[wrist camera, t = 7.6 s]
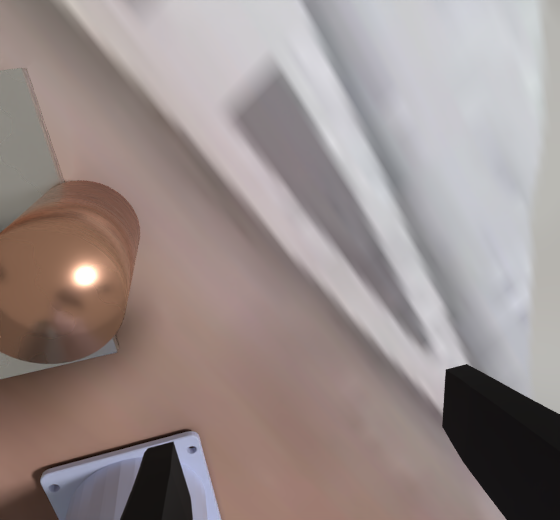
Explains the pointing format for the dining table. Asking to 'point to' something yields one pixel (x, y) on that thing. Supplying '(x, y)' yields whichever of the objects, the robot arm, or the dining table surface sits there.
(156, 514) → the robot arm
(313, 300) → the dining table surface
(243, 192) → the dining table surface
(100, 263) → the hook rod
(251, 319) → the dining table surface
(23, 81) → the grey plate
